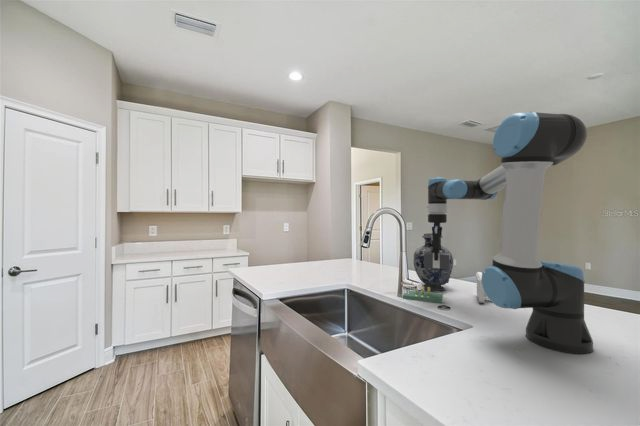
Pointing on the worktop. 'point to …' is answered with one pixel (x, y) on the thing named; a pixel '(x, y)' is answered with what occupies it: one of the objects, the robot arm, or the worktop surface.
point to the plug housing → (443, 260)
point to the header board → (424, 296)
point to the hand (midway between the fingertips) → (436, 266)
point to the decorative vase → (431, 275)
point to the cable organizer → (480, 288)
